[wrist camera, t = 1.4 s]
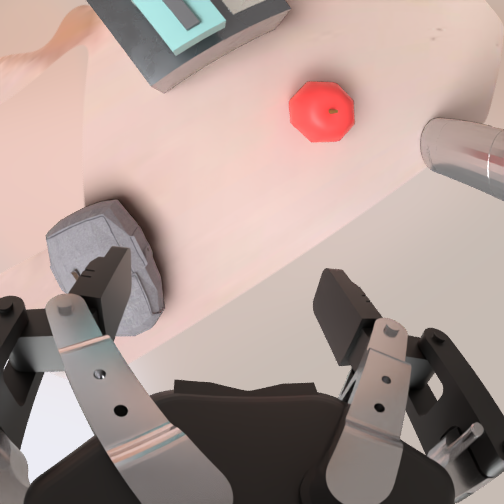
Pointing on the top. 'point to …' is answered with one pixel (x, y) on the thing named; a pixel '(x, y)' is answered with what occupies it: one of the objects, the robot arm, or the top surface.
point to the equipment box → (197, 56)
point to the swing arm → (182, 21)
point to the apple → (322, 111)
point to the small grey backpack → (97, 245)
